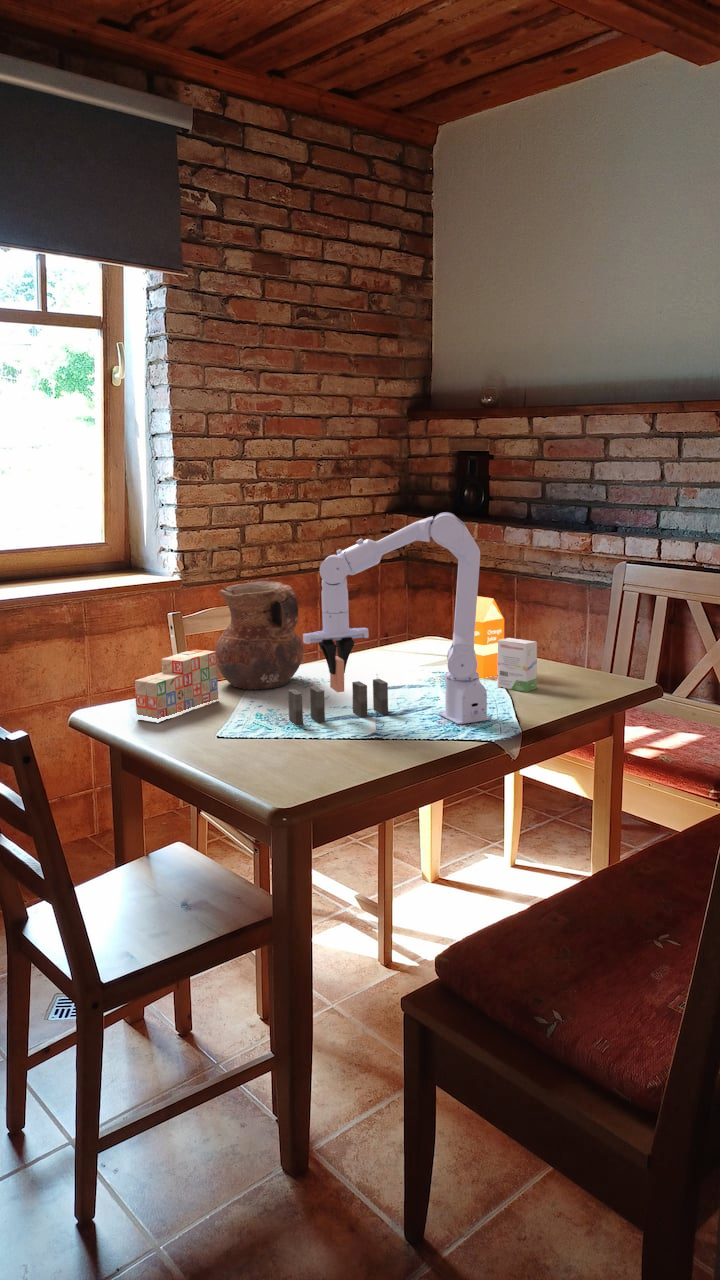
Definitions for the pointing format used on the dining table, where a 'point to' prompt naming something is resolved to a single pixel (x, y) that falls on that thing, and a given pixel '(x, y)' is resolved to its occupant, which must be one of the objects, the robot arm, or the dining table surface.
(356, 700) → the tile
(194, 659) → the stack of blocks
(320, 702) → the tile
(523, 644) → the ink box
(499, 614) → the orange juice
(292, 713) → the tile
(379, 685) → the tile
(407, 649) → the dining table surface
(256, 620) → the jug
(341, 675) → the tile
